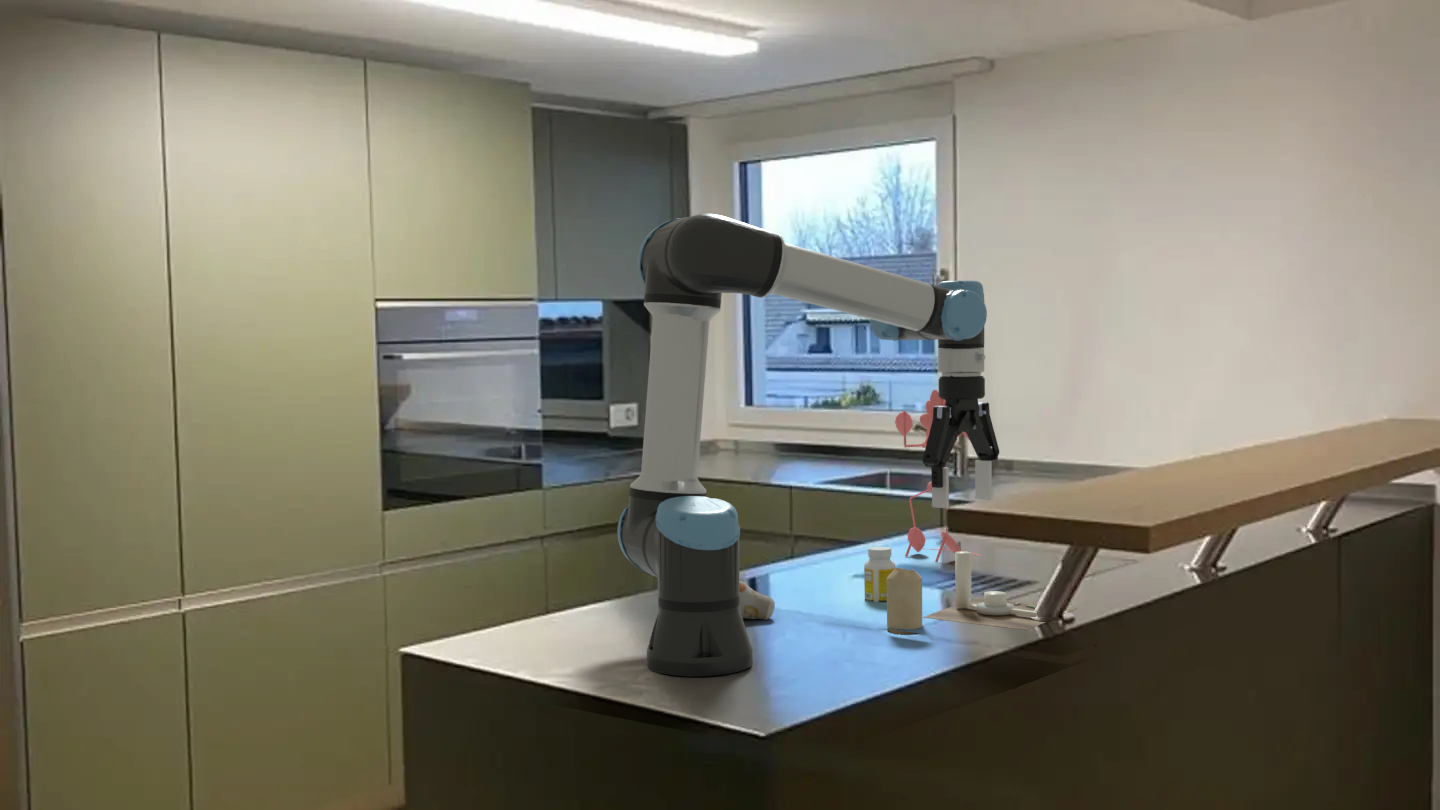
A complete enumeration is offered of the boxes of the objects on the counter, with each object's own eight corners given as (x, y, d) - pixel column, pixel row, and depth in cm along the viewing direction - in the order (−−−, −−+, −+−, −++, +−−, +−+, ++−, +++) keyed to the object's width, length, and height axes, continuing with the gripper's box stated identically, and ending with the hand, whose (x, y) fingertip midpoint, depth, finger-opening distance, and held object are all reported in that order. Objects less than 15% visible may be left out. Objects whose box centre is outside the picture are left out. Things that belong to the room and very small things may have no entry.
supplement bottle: (900, 602, 242) (899, 546, 242) (890, 608, 237) (890, 551, 237) (870, 600, 245) (869, 545, 244) (860, 606, 240) (859, 549, 239)
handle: (947, 609, 230) (946, 554, 229) (966, 603, 234) (965, 549, 234) (1027, 620, 220) (1027, 563, 219) (1046, 614, 224) (1045, 558, 224)
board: (1027, 636, 214) (1027, 628, 214) (922, 623, 225) (922, 615, 225) (1077, 614, 230) (1077, 606, 230) (977, 602, 241) (977, 595, 241)
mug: (780, 625, 227) (750, 574, 225) (728, 648, 229) (698, 599, 227) (783, 605, 234) (754, 556, 232) (733, 628, 236) (704, 580, 234)
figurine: (962, 568, 276) (964, 391, 275) (876, 552, 297) (877, 388, 296) (1016, 561, 285) (1018, 390, 284) (929, 547, 306) (931, 387, 305)
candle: (928, 630, 220) (928, 567, 219) (912, 636, 215) (912, 572, 215) (897, 626, 223) (896, 564, 222) (880, 633, 218) (880, 569, 218)
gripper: (940, 377, 217) (941, 513, 218) (1019, 372, 236) (1020, 497, 237) (900, 377, 222) (901, 509, 223) (980, 372, 241) (981, 494, 242)
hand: (962, 503), depth 230 cm, fingers open, 13 cm apart
